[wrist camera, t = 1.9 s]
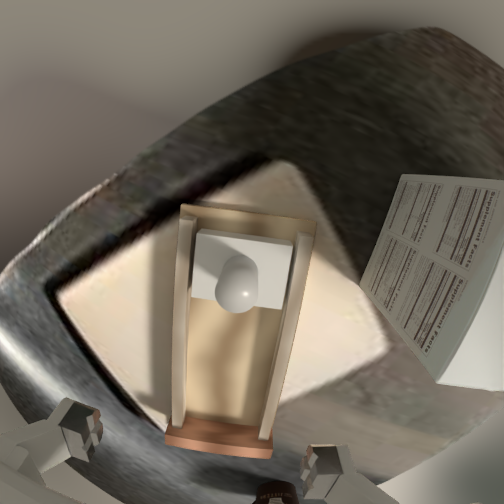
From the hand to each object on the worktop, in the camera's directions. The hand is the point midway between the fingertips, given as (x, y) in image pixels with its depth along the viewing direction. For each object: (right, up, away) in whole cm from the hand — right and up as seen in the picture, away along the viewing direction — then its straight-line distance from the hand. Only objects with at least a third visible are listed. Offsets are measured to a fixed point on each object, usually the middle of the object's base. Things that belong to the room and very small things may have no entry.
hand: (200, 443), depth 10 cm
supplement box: (+21, +7, +21) cm, 31 cm away
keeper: (+1, +6, +20) cm, 21 cm away
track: (0, -3, +24) cm, 24 cm away
